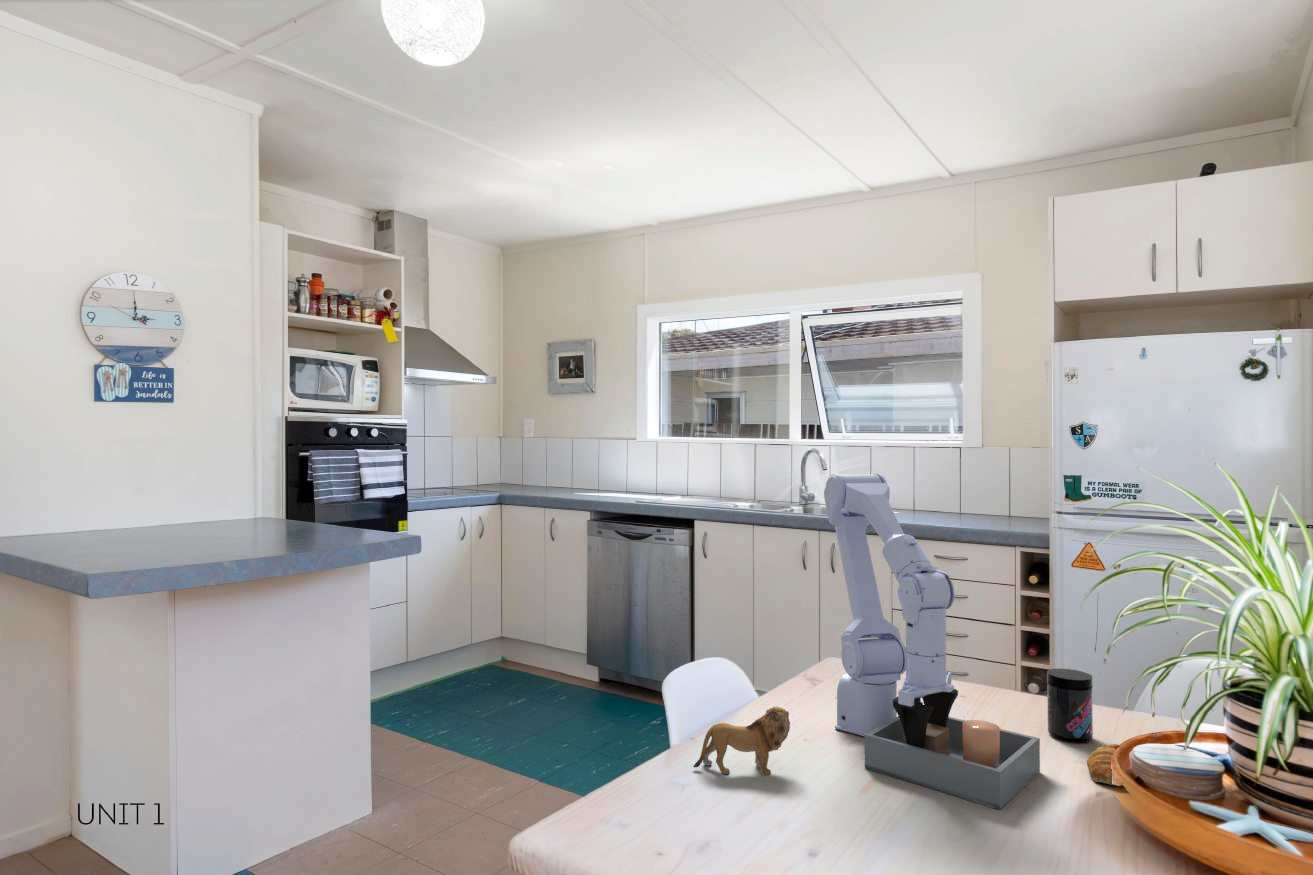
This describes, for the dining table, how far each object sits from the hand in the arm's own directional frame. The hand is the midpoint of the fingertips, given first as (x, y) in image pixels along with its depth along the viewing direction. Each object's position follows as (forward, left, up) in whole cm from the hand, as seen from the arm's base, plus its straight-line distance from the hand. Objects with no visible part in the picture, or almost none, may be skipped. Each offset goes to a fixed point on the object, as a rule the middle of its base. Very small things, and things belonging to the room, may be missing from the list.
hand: (926, 742), depth 117 cm
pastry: (+22, +16, -4) cm, 27 cm away
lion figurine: (-20, -19, -4) cm, 28 cm away
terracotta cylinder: (+8, +1, -3) cm, 8 cm away
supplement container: (+12, +28, -4) cm, 31 cm away
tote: (+4, +1, -3) cm, 5 cm away
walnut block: (0, 0, -3) cm, 3 cm away
